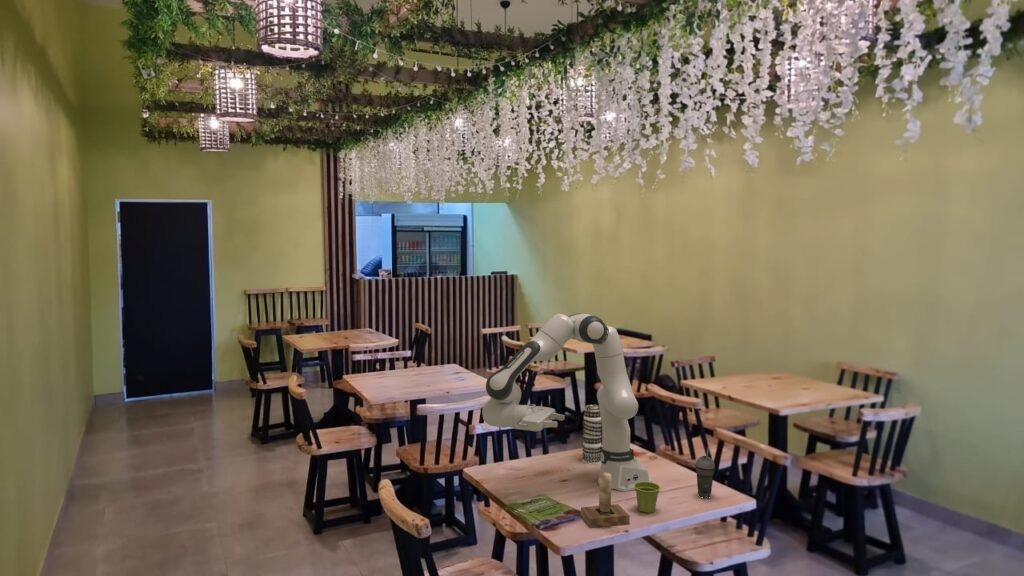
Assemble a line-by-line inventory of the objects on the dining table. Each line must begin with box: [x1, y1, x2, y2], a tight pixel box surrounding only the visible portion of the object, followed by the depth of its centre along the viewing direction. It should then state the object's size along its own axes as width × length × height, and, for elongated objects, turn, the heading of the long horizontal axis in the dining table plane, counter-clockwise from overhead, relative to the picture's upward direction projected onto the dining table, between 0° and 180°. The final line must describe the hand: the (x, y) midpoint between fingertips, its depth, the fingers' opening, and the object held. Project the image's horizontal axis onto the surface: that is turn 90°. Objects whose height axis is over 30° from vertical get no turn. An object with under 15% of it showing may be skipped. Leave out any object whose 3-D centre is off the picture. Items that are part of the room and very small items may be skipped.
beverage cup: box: [694, 445, 716, 499], centre depth 242 cm, size 7×7×20 cm
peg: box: [598, 472, 612, 515], centre depth 220 cm, size 4×4×16 cm
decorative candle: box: [581, 404, 602, 465], centre depth 281 cm, size 9×9×25 cm
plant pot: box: [634, 482, 661, 514], centre depth 229 cm, size 9×9×9 cm
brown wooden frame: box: [580, 503, 631, 529], centre depth 221 cm, size 14×10×3 cm
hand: (560, 421), depth 229 cm, fingers open, 8 cm apart
